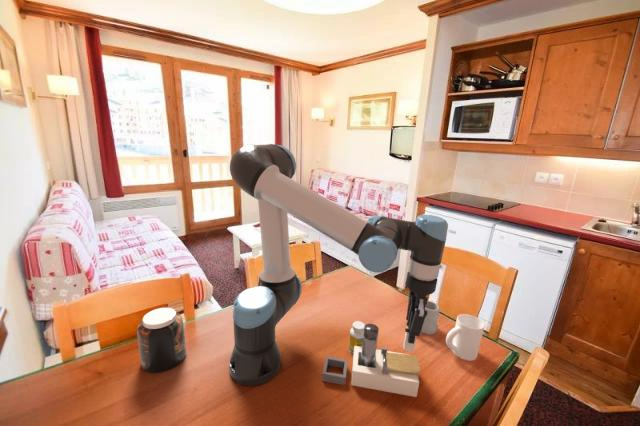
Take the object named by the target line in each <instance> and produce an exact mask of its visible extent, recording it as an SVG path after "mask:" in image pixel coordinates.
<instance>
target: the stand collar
mask: <svg viewBox="0 0 640 426" xmlns="http://www.w3.org/2000/svg"><path fill="white" fill-rule="evenodd" d="M328 367H332V368H333V367H334V368H340V369H343V374H339V373H335V372H328ZM347 368H348V360H347V359H342V358H338V357H332V356H331V357H330V356H325V360H324V365H323V371H322V375H321V376H322V378H321V379H322V380H321V381H322V382H327V383H333V384H338V385H343V386H345V385H346V381H347V379H346V378H347V371H348V369H347Z"/></svg>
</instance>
